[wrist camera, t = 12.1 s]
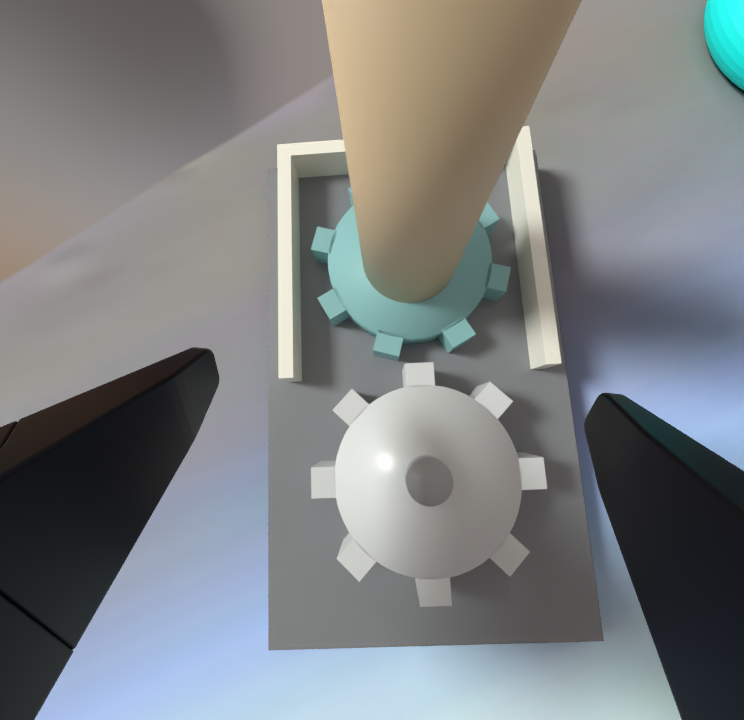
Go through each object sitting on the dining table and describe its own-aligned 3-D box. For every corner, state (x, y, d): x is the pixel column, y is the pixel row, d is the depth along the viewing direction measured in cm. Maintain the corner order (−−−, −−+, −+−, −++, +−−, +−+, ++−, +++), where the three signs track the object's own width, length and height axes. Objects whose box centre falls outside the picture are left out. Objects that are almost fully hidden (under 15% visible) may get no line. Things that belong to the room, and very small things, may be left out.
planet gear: (538, 298, 16) (1191, -215, 3) (376, 396, 15) (326, 292, 3) (435, 155, 17) (579, -619, 4) (283, 243, 17) (-53, -329, 4)
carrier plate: (586, 622, 15) (659, 698, 11) (277, 632, 15) (239, 707, 11) (525, 167, 18) (564, 97, 14) (276, 184, 19) (246, 122, 15)
